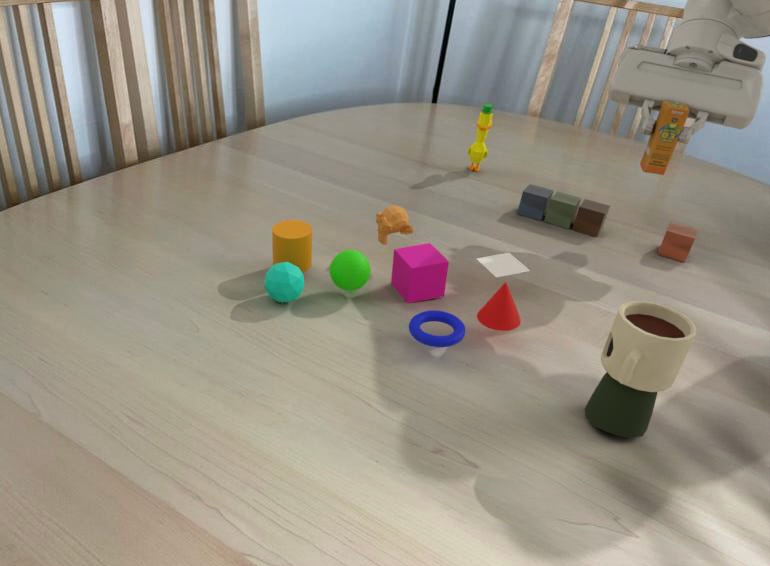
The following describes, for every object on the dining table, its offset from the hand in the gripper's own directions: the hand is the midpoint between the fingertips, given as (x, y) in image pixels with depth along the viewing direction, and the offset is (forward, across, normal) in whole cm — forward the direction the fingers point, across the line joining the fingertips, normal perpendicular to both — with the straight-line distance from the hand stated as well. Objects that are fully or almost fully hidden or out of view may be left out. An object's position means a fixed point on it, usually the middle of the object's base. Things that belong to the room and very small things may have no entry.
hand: (664, 136), depth 109 cm
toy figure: (+4, -30, +19) cm, 35 cm away
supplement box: (+4, 0, +4) cm, 6 cm away
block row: (+13, -4, +10) cm, 17 cm away
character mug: (+47, +7, -24) cm, 53 cm away
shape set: (+40, -22, -18) cm, 49 cm away
